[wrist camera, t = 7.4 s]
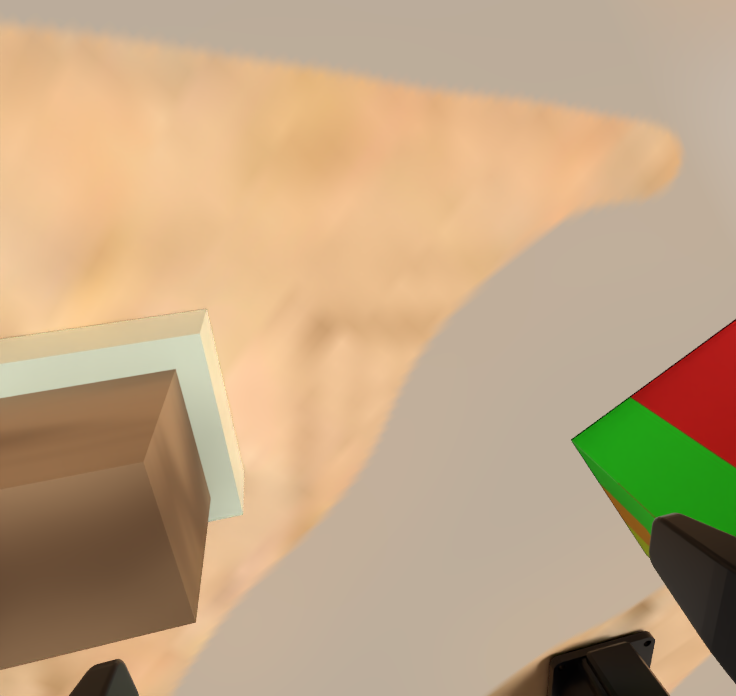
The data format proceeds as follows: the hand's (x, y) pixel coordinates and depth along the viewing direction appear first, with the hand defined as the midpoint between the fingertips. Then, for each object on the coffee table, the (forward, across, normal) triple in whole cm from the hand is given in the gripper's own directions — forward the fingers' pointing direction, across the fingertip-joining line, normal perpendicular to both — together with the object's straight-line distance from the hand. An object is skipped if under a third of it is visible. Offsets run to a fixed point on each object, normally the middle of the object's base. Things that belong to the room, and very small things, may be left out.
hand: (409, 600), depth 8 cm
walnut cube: (+9, +7, +1) cm, 12 cm away
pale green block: (+12, +7, +1) cm, 14 cm away
